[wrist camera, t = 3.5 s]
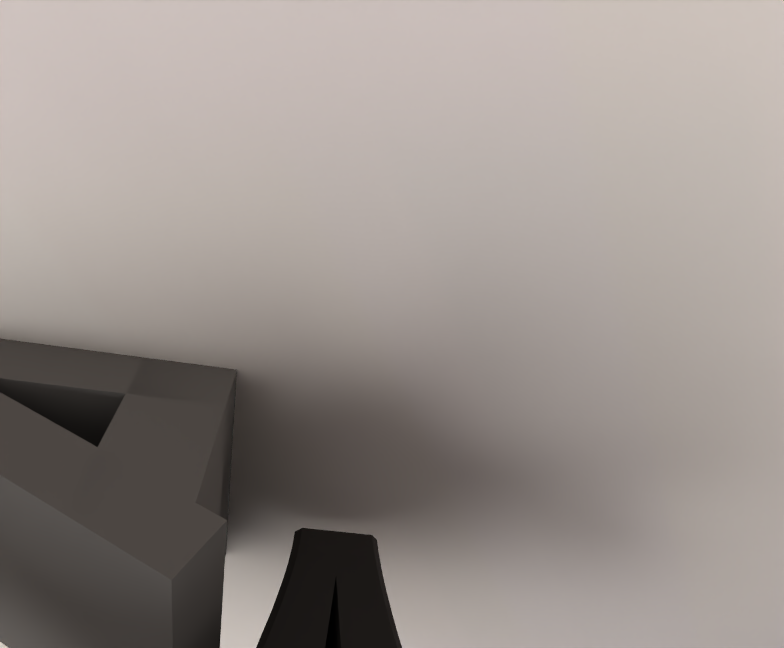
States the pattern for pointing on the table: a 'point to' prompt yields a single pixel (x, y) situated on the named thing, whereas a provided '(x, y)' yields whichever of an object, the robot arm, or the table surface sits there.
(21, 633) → the wedge
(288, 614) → the robot arm
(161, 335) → the table surface
